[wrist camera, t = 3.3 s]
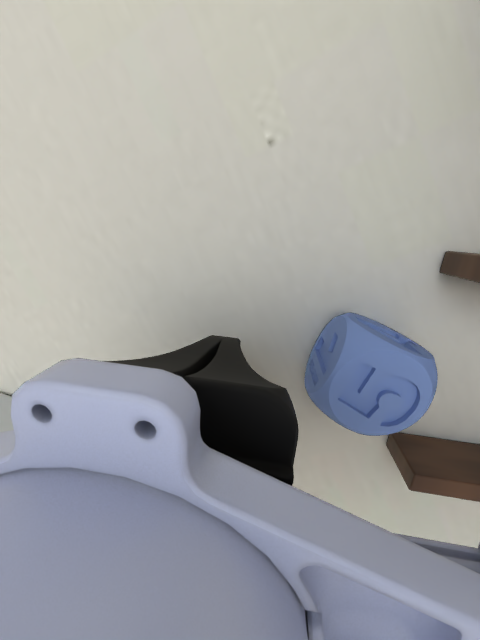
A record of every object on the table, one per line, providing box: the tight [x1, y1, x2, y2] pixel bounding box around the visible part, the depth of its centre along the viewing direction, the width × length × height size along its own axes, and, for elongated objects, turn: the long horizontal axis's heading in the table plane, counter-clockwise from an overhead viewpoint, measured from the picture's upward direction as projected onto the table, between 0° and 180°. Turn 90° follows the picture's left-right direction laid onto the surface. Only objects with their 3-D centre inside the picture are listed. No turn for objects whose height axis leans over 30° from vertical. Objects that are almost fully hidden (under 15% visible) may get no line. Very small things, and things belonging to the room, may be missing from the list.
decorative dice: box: [305, 313, 437, 436], centre depth 13 cm, size 4×4×4 cm
